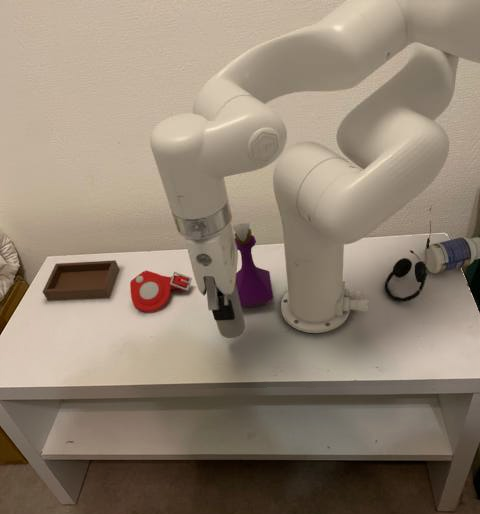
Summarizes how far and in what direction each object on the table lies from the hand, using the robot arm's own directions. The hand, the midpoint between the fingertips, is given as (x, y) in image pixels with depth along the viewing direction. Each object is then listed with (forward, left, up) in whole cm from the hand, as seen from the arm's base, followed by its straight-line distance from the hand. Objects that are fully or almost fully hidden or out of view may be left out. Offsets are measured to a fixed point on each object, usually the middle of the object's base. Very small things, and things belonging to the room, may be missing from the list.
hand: (226, 305), depth 77 cm
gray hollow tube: (0, 0, -6) cm, 6 cm away
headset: (-33, -30, -1) cm, 45 cm away
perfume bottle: (-1, -12, -11) cm, 17 cm away
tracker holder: (+18, -11, -11) cm, 24 cm away
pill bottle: (-32, -23, -8) cm, 40 cm away
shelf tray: (+36, -13, -11) cm, 40 cm away
